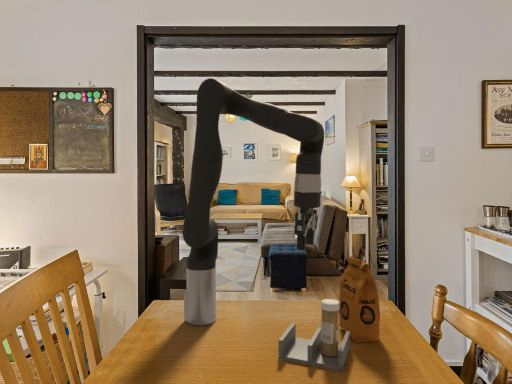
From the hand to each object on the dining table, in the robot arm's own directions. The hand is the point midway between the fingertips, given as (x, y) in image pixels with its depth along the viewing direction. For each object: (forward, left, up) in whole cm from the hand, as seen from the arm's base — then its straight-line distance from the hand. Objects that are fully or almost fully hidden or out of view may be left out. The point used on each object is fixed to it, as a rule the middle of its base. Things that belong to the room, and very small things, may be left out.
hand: (305, 247), depth 108 cm
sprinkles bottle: (+9, -10, -25) cm, 28 cm away
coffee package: (+14, +7, -26) cm, 31 cm away
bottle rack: (+5, -10, -26) cm, 28 cm away
